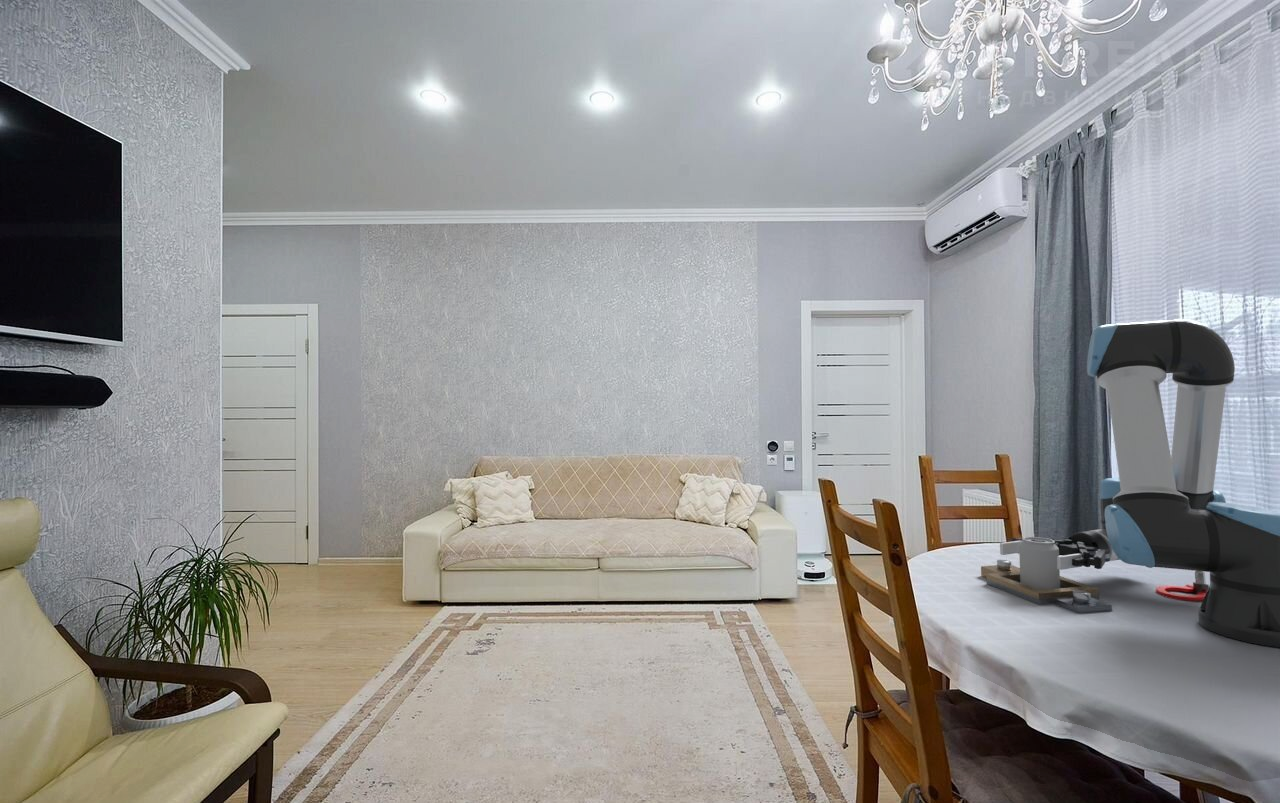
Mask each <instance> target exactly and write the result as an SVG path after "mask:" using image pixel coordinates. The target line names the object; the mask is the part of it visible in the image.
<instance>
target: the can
mask: <svg viewBox="0 0 1280 803" xmlns="http://www.w3.org/2000/svg"><path fill="white" fill-rule="evenodd" d="M1021 538H1022V540H1023V541H1022V542H1021V543H1020V544H1019V554H1018V555H1019V568H1020V583H1021V584H1024V585H1027V586H1030V587H1032V588H1035V589H1038V590H1045V589H1058V588H1060V576H1061V573H1060V572H1061V571H1060V569H1058V567H1057V556H1060V555H1059V548H1058V547H1057V546H1056V545H1055V544H1054V543H1055V541H1054V540H1055V539H1054V540H1051V539H1047V538H1048V537H1039V536H1025V537H1021Z"/></svg>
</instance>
